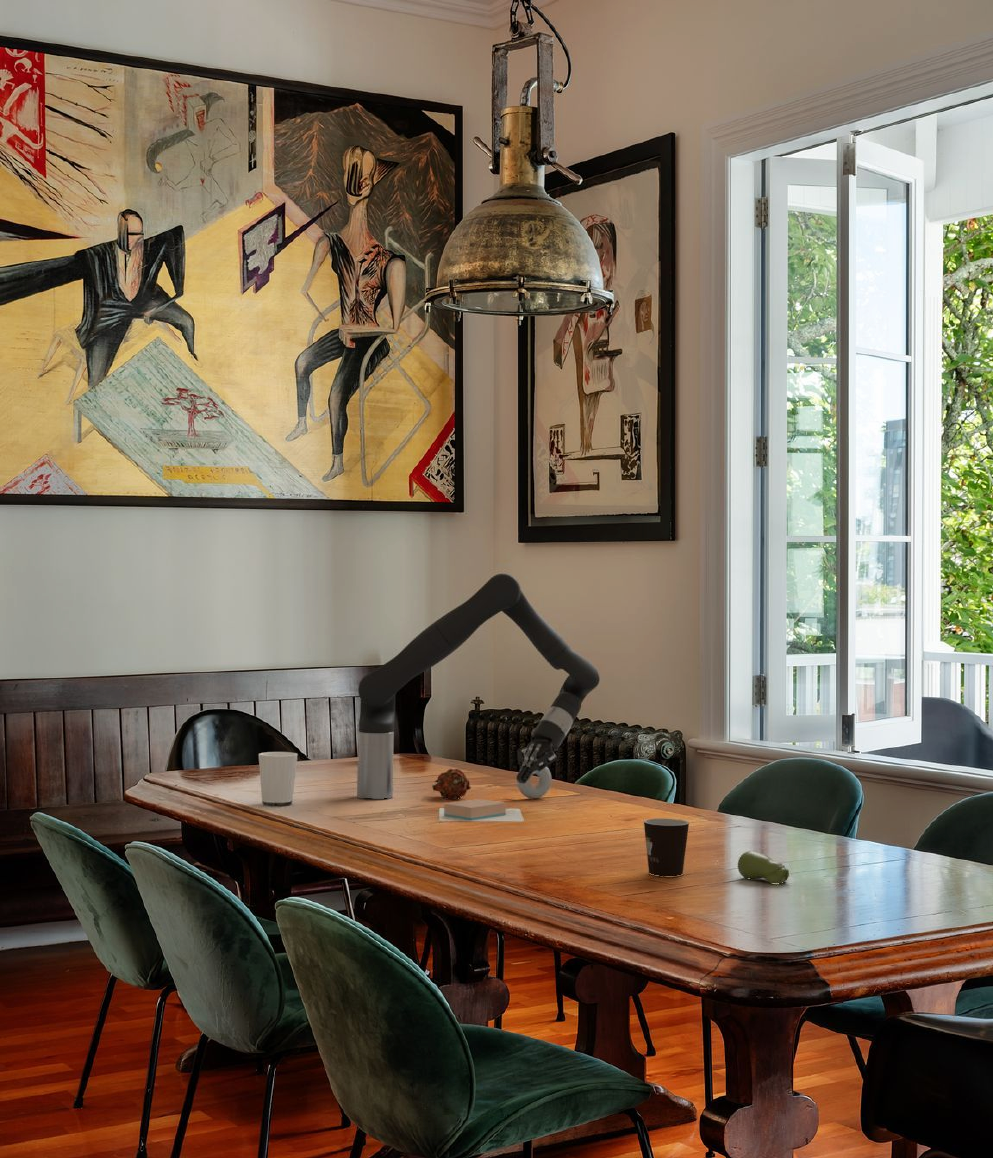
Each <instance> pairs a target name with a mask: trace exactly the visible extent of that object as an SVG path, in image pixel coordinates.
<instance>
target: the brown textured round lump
mask: <svg viewBox="0 0 993 1158" xmlns="http://www.w3.org/2000/svg"><path fill="white" fill-rule="evenodd" d="M434 783H435V784H432V790H433V791H435V792H439V793H440V796H441V797H442V798H443V799H444V798H446V799H449V798H450V799H453V800H459V799H460V798H461V797H465V795H466V794H467V791H469V790H470V789H472V787H471V785H470V783H471V782H470V780H469V779H468V777H467V776H466V774H465V773H464V772H463V771H462V770H461V769H459V768H454V769H453V768H449V769H448V770H446V771H445V772H442V773H440V774H439V775H438V776H437V779H436V780H434ZM458 798H459V799H458Z"/></svg>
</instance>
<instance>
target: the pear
mask: <svg viewBox="0 0 993 1158" xmlns="http://www.w3.org/2000/svg"><path fill="white" fill-rule="evenodd" d="M737 869H738V872H739V874H740V875H741V876H742V877H743V878H745V879H746V878H750V879H754V880H757V879H758V880H759V879H765V880H766V882H767V883H769V884H771V883H779V885H781V884H780V883H782V882H785V881H786V882H787V880H788V878H789V877H790V871H789V869H787V868H786V867H785V865H783V864H782V863H780V862H778V861H776V860H773V859H772V857H770V856H768V855H765V854H764V853H761V852H758V851H754V850H753V851H752V850H748V851H746V852H743V853H742V854H741V855H740V856H739V858H738V861H737Z"/></svg>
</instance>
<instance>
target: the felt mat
mask: <svg viewBox="0 0 993 1158" xmlns="http://www.w3.org/2000/svg"><path fill="white" fill-rule="evenodd" d="M438 814H439V815H438V819H439V820H438V822H439V821H440V822H512V823H513V822H514V823H515V822H517V823H518V822H519V823H520V822H521V823H522V822H525V820H524V817H523V814H522V811H521V809H520V808H506V815H504V816H497V817H491V818H484V819H478V820H465V819H459V818H453V817H447V816H444V807H439V810H438Z"/></svg>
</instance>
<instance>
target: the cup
mask: <svg viewBox="0 0 993 1158" xmlns="http://www.w3.org/2000/svg"><path fill="white" fill-rule="evenodd" d="M258 763H259V764H258V766H259V777H260V778H259V779H260V790H261V791H260V793H261V802H262V804H263V805H265V804H266V806H268V807H272V806H274V805H275V804H276V805H277V806H279V807H284V806H285V804H291V805H292V803H293V800H294V791H295V790H294V789H295V782H296V781H295V780H296V773H297V764H298V753H296V752H290V751H267V752H261V753H258Z"/></svg>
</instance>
